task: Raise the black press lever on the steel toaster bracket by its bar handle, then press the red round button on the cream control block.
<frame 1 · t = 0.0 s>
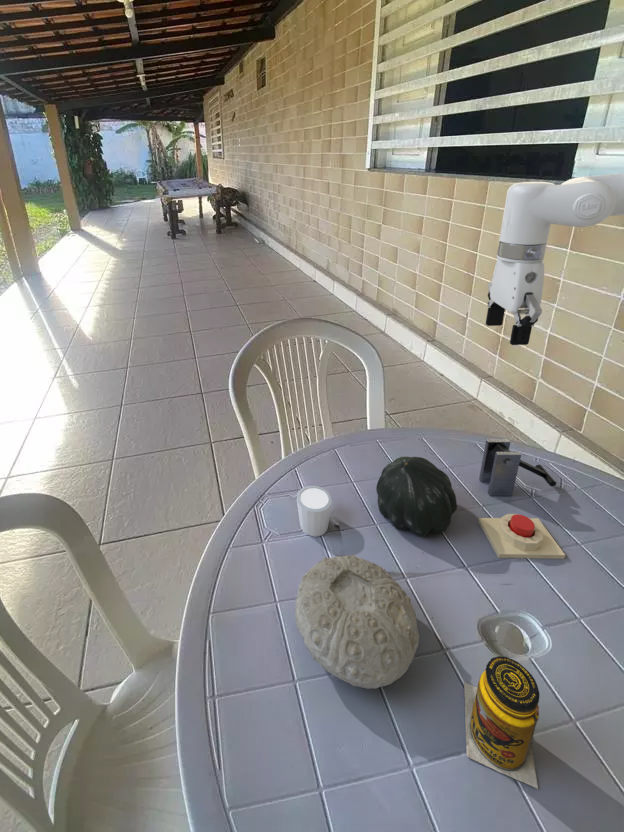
hand: (505, 334, 86), 33 cm above the table, tool pointing down, fingers open, 9 cm apart
decorative shell: (353, 636, 65), on the table
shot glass: (313, 525, 85), on the table
cancel button: (521, 525, 76), point 5 cm above the table, slide at 0.2 cm
press lever: (522, 464, 87), point 7 cm above the table, hinge at -30.0°
squash: (412, 518, 85), on the table
control block: (517, 544, 78), on the table
condiment: (497, 732, 54), on the table
toaster bracket: (494, 492, 90), on the table
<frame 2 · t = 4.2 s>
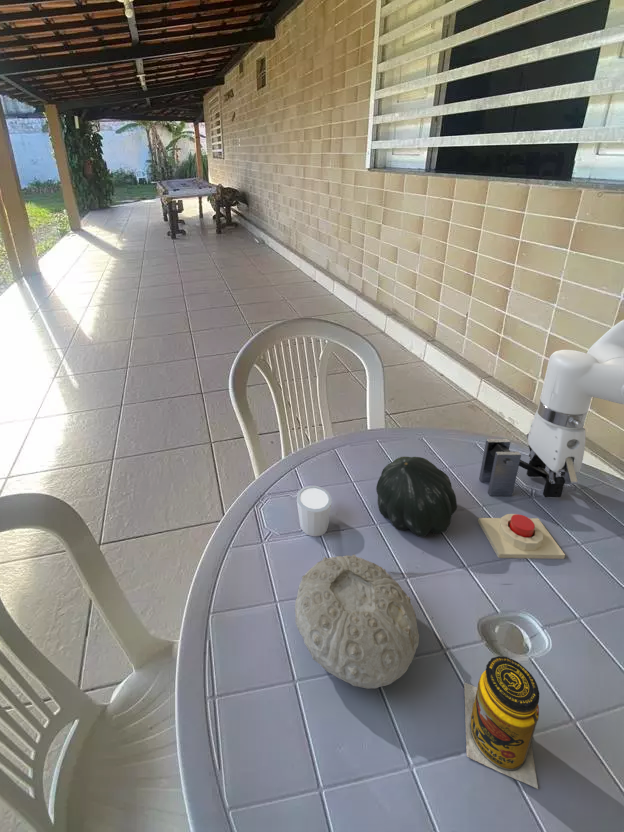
hand: (542, 485, 89), 2 cm above the table, tool pointing down, fingers closed on press lever, 5 cm apart
press lever: (522, 464, 87), point 7 cm above the table, hinge at -30.0°, touching gripper
everything else where it was.
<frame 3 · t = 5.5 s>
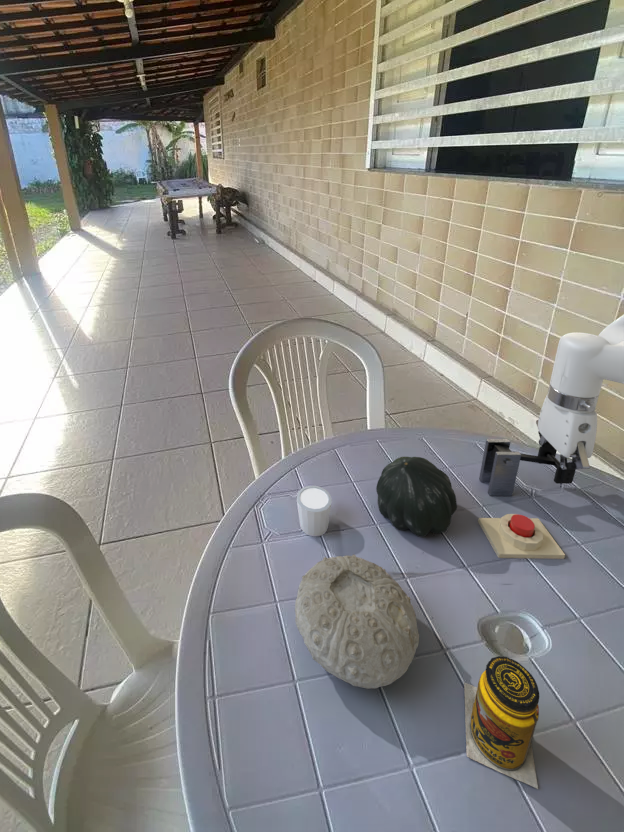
hand: (553, 471, 87), 5 cm above the table, tool pointing down, fingers closed on press lever, 5 cm apart
press lever: (526, 457, 86), point 9 cm above the table, hinge at -11.1°, touching gripper
everything else where it was.
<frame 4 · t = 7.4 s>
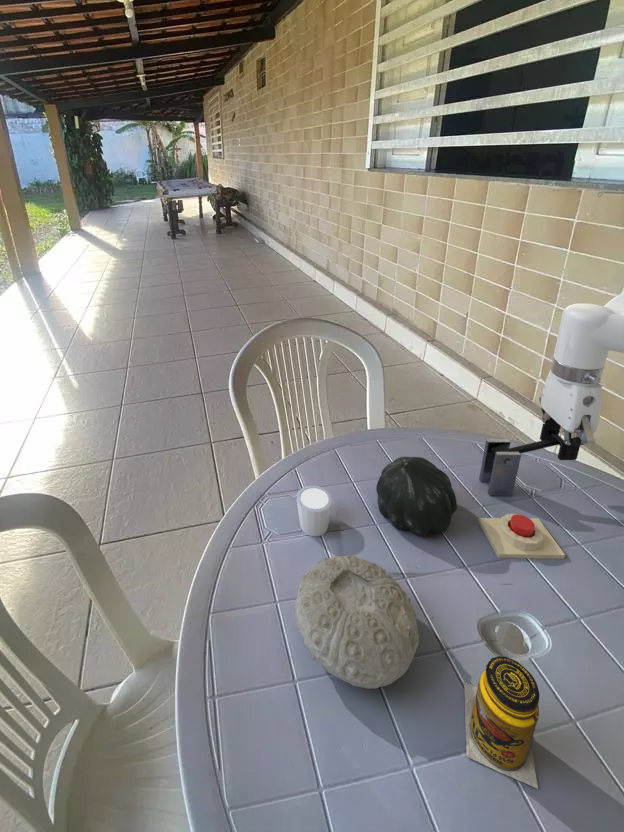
hand: (557, 448, 85), 11 cm above the table, tool pointing down, fingers open, 5 cm apart
press lever: (528, 447, 85), point 12 cm above the table, hinge at 17.2°
everything else where it was.
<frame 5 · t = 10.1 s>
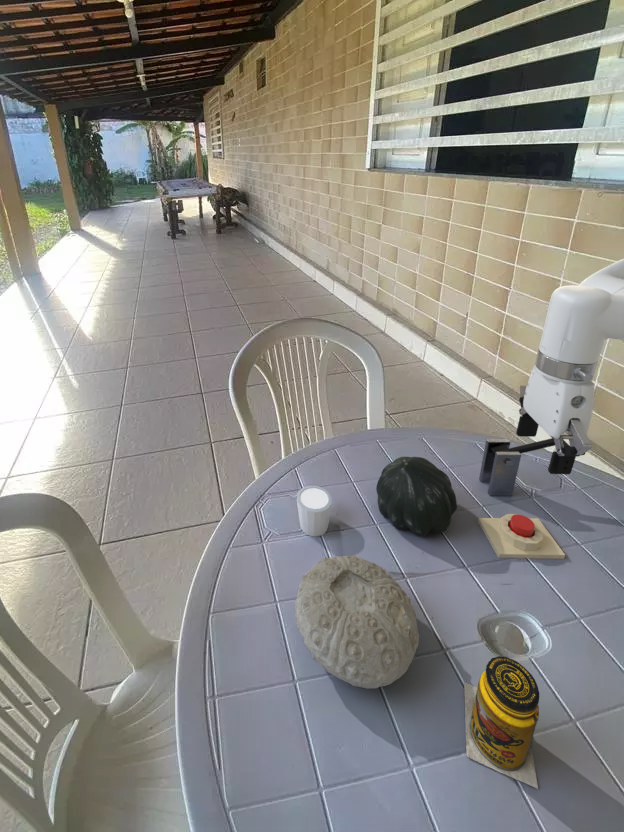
hand: (541, 453, 72), 19 cm above the table, tool pointing down, fingers open, 9 cm apart
nothing on the table moved.
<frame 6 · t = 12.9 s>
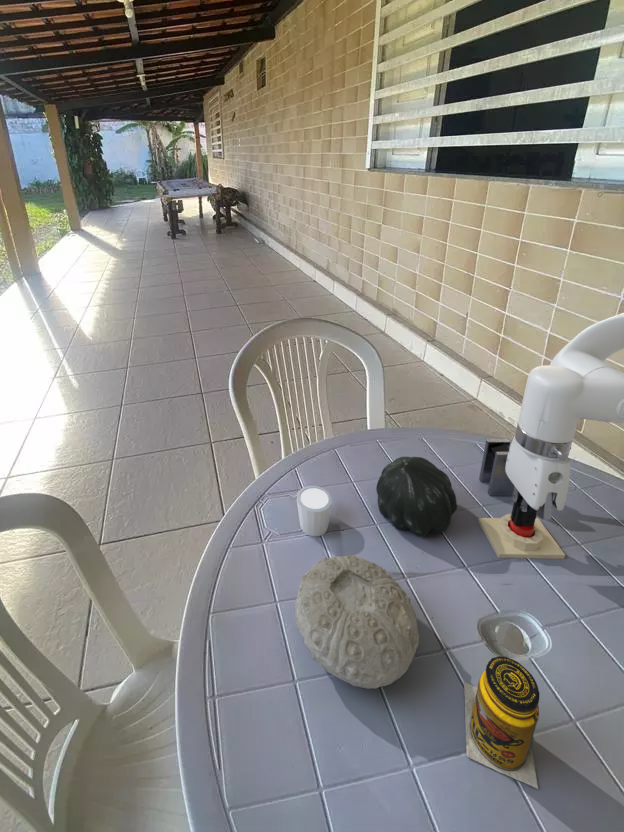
hand: (521, 522, 76), 5 cm above the table, tool pointing down, fingers closed
cancel button: (521, 526, 76), point 4 cm above the table, slide at 0.0 cm, touching gripper
everything else where it was.
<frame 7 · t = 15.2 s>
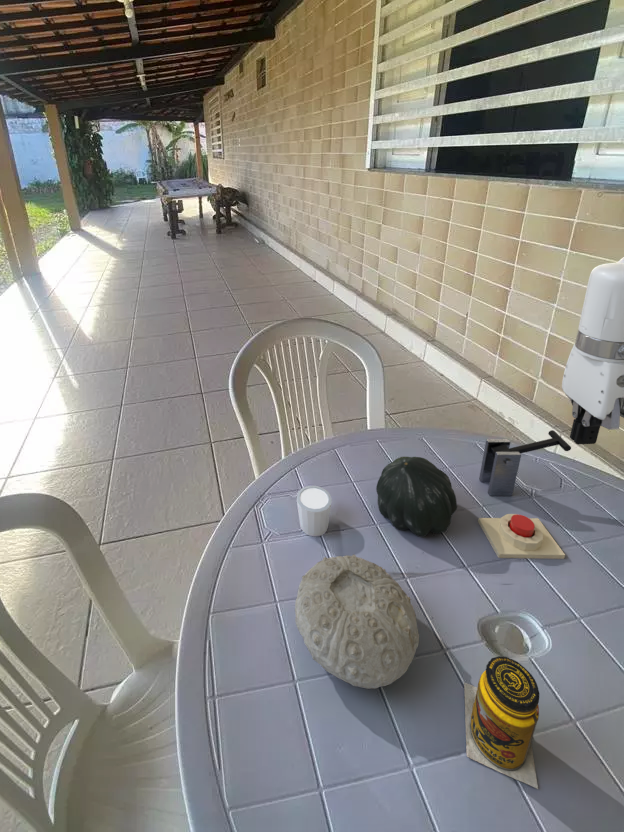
hand: (582, 440, 72), 21 cm above the table, tool pointing down, fingers closed
cancel button: (521, 525, 76), point 5 cm above the table, slide at 0.1 cm
everything else where it was.
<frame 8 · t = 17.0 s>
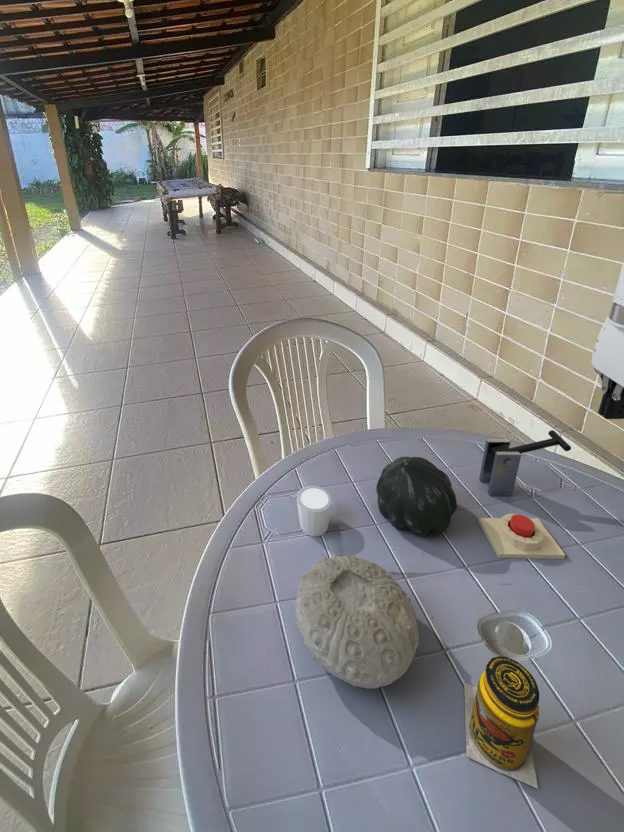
hand: (611, 416, 72), 25 cm above the table, tool pointing down, fingers closed
nothing on the table moved.
at the end: press lever at +17° (first picture: -30°); cancel button pushed in 1.1 cm at the most during the clip, back to where it started at the end; cancel button slide at 0.1 cm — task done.
